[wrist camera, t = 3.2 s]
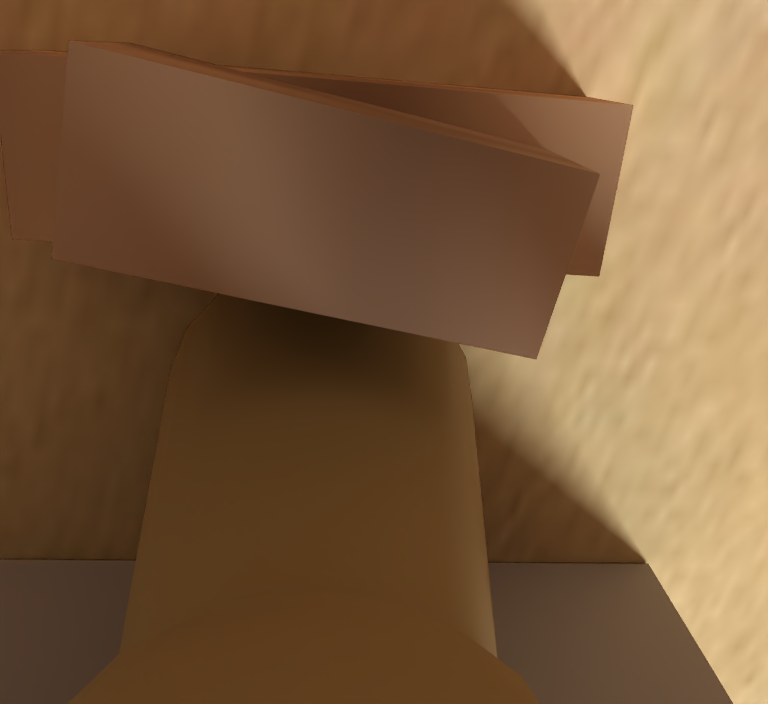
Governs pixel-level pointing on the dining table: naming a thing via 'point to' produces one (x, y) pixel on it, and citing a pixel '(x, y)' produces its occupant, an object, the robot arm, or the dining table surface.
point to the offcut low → (433, 101)
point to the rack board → (511, 621)
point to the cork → (311, 524)
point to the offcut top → (311, 200)
